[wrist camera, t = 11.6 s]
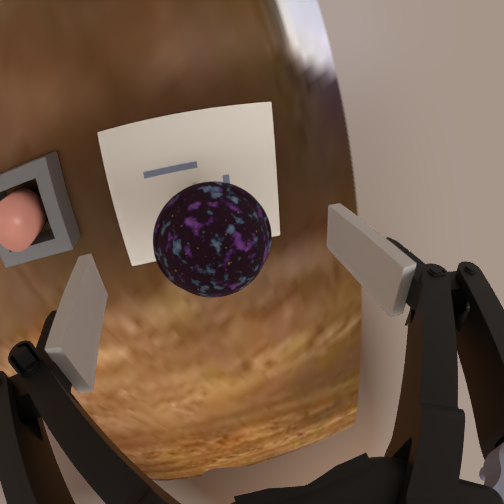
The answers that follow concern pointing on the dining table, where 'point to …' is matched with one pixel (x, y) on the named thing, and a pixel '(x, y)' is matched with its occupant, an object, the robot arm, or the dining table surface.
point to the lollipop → (212, 239)
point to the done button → (21, 219)
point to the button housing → (55, 206)
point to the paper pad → (187, 164)
